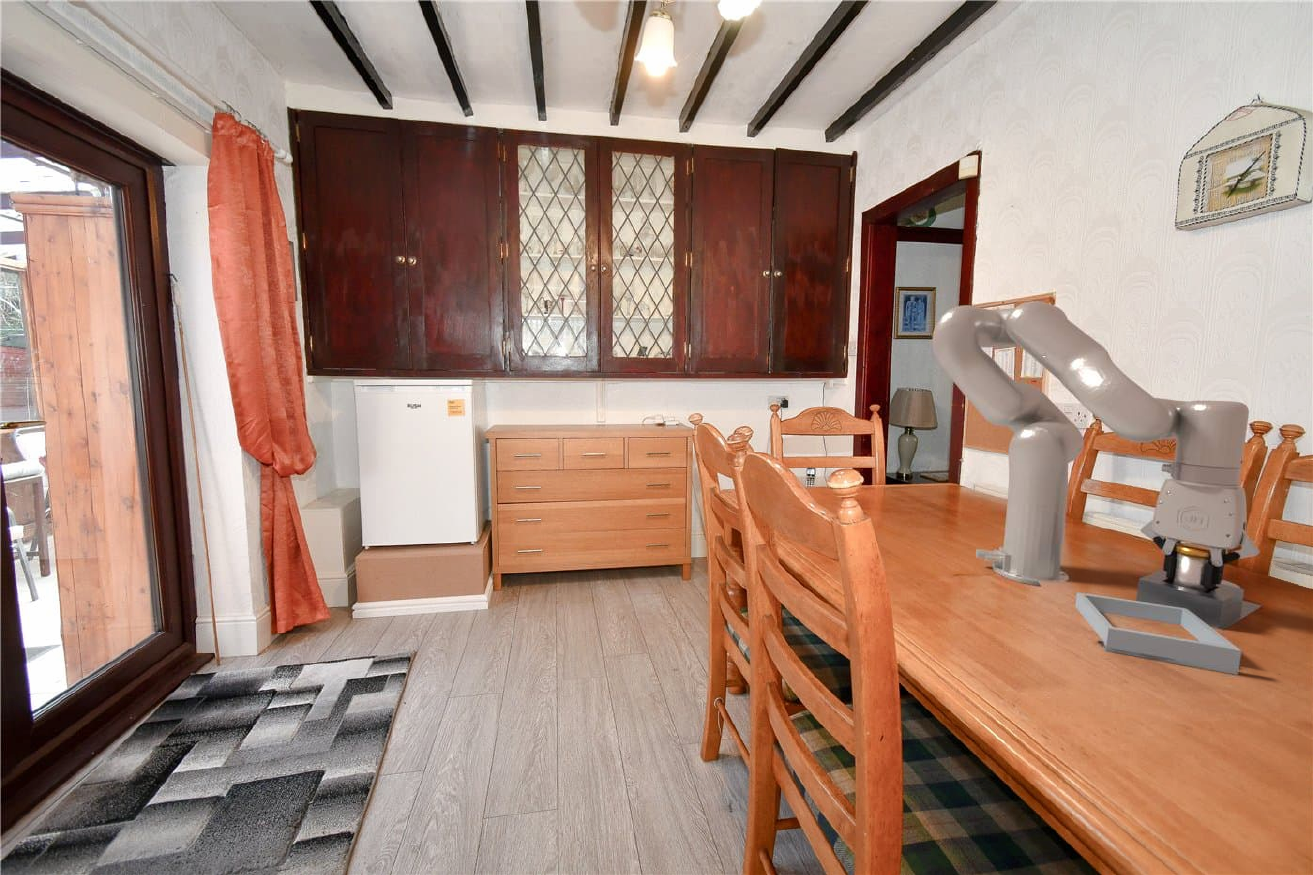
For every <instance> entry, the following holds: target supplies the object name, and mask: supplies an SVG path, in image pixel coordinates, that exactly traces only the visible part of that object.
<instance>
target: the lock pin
mask: <svg viewBox="0 0 1313 875" xmlns="http://www.w3.org/2000/svg"><path fill="white" fill-rule="evenodd" d="M1175 551H1176V552H1177V558H1176V565H1175V573H1174V580H1173V584H1174V585H1178V586H1181V587H1185V588H1189V589H1193V590H1196V591H1200V592H1204V593H1207V589H1208V588H1205V587H1204V580H1205V573H1206V566H1207V565H1208V564H1210V561H1211V552H1210V547H1206V546H1201V545H1196V544H1191V543H1187V542H1181V543H1176V546H1175Z"/></svg>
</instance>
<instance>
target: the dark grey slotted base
mask: <svg viewBox="0 0 1313 875" xmlns="http://www.w3.org/2000/svg"><path fill="white" fill-rule="evenodd" d="M1166 573H1167V572H1166V571H1163V568H1162V569H1160V570H1158V571H1155V572H1152V573H1150V574H1148V575H1146V576H1142V577H1140V578H1139V579H1138V583H1137V591H1136V599H1135V601H1139V602H1146V603H1152V604H1159V605H1166V606H1173V607H1179V608H1186V609H1188V610H1189V611H1190V612H1192V613H1193V614H1194V615H1196V616H1197V617H1198V618H1200V619H1201V620H1202V621H1203V622H1205V623H1206V624H1207V625H1209V626H1210V627H1211V628H1213V629H1217V630H1220V631H1224V630H1226V629H1228V628H1229V627H1231V626H1233V625H1235V624H1236V623H1237V622H1239V621H1240V620H1242V619H1244V618H1245V617H1247V616H1249V615H1250V614H1251V613H1253V612H1255V611H1256V610H1258V609H1260V608H1262V605H1261V604H1257V603H1253V602H1249V601H1246V600H1243V599H1244V592H1245V589H1243V588H1241V587H1240V586H1239V585H1237V584H1236V583H1233V582H1230V581H1228V580H1224V579H1222V582H1221V584H1219V585H1218V584H1216V586H1215V587H1213V588H1211V589H1207V593H1204V592H1200V591H1196V590H1193V589H1189V588H1185V587H1181V586H1178V585H1174V584H1173V580H1174V578H1171V579H1169V578H1166Z"/></svg>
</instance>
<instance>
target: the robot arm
mask: <svg viewBox="0 0 1313 875" xmlns="http://www.w3.org/2000/svg"><path fill="white" fill-rule="evenodd" d="M932 334H933V335H932V341H931V343H932V350H933V355H934V357H935V359H936V362H937V363H938V364H939V367H940V368H941V369H942V370H943V372H944V373H945V374H946V375H947V377H948V378H950V380H951V381H952V382H953V383H954V384H955V385H956V386H957V388H958V389H959V390H960V391H961V393H962V394H963V396H965V398H966V399H967V400H969V402H970V403H971V404H972V405H973V406H974V408H975V409H976V410H977V411H978V413H980V415H981V416H982V417H983V418H984V419H985V421H987V422H988V423H989V424H991V425H994V426H997V427H998V426H999V427H1008V429H1010V431H1011V432H1012V434H1013V435H1012V438H1011V440H1010V442H1009V446H1008V466H1009V467H1008V471H1009V472H1008V492H1007V503H1006V504H1007V506H1006V515H1005V526H1004V527H1005V528H1004V537H1003V538H1004V539H1003V546H999V549H994V550H987V549H983V548H976V549H975V550H976V551H975V557H976V559H982V560H983V559H984V562H989V563H992V570H993V571H994V572H995V573H996V574H998V575H999V574H1000V575H999V576H1001V575H1002V576H1001V577H1003V576H1004V578H1006V579H1009V580H1011V581H1015V582H1018V583H1021V584H1026V585H1031V586H1036V587H1037V586H1038V587H1042V585H1041V584H1040V582H1043V583H1063V582H1067V581H1068V580H1069V579H1070V577H1069V575H1068V574H1067V573H1066V572H1063V571H1062V570H1061V564H1062V555H1063V542H1064V534H1065V526H1066V525H1065V523H1066V516H1067V508H1068V507H1067V504H1068V493H1069V464H1070V463H1071V462H1073V461H1075V460H1076V459H1077V458H1079V457H1080V455H1081V454H1082V452H1083V449H1084V446H1085V441H1084V436H1083V435H1082V432H1081V430H1080V429H1079V428H1078V427H1077V426H1076V424H1074V423H1073V421H1071V420H1070V418H1069V417H1067V415H1066V414H1065V413H1064V412H1063V411H1062V410H1061V409H1060V408H1059V407H1058V406H1057V405H1056V404H1055V403H1054V402H1053V401H1052V400H1051V399H1050V398H1049V397H1048V396H1047V395H1046V394H1045V393H1044V392H1043V391H1042V390H1040V389H1039V388H1038V387H1037V386H1035V385H1033V384H1031V383H1028V382H1025V381H1017V380H1015V379H1013V377H1011V376H1010V375H1009V374H1008V373H1007V372H1006V371H1005V370H1003V368H1002V367H1001V366H1000V365H999V364H998V363H997V361H995V360H994V358H992V357H991V356H990V355H989V354H988V353H987V352H985V351H984V350H983V348H1022V350H1024V352H1026V353H1027V354H1028V355H1030V357H1032V358H1033V359H1034V360H1035V361H1036V362H1038V363H1039V364H1040V365H1041V366H1042V367H1043V368H1045V369H1046V370H1047V371H1048V372H1049V373H1051V375H1053V376H1054V377H1055V378H1056V379H1057V380H1058V381H1059V382H1060V383H1061V384H1062V386H1063V387H1064V388H1065V389H1067V391H1069V393H1071V394H1072V395H1073V396H1074V398H1075V399H1076V400H1077V401H1078V402H1079V403H1080V404H1082V406H1083V407H1084V408H1085V409H1086V410H1088V412H1090V413H1091V414H1092V415H1093V416H1094V417H1096V418H1097V419H1098V420H1099V421H1100V422H1101V423H1103V424H1104V425H1105V426H1106V427H1107V428H1108V429H1110V430H1111V431H1112V432H1113V433H1115V434H1116V435H1117V436H1119V437H1120V438H1122V439H1124V440H1126V441H1129V442H1132V443H1133V442H1134V443H1138V444H1140V443H1150V442H1151V443H1152V442H1155V441H1159V440H1176V442H1175V443H1176V445H1175V454H1174V459H1173V460H1174V461H1172V463H1168V464H1167V463H1163V464H1161V465H1162V466H1161V471H1162V472H1165V473H1167V474H1170V478H1167V479H1164V481H1163V483H1162V486H1161V487H1160V491H1159V495H1158V497H1157V501H1156V504H1155V510H1154V512H1153V517H1152V519H1151V520H1150V521H1149V522H1148V523H1147V524H1145V525H1144V526H1143V527H1142V528H1141V529H1140V532H1141V533H1142V534H1143V535H1145V536H1146V537H1147V538H1148V539H1150V540H1152V542H1153V543H1154V544H1155V545H1156V546H1157V547H1158V548H1159V549H1160V550H1161V553H1162V554H1164V559H1163V560H1164V561H1163V566H1162V569H1163V571H1166V572H1167V573H1166V578H1169V579H1171V578H1174V573H1175V565H1176V558H1177V552H1176V551H1175V546H1176V543H1191V544H1196V545H1201V546H1206V547H1210V552H1211V561H1210V564H1208V565H1207V566H1206V573H1205V580H1204V587H1205V588H1208V589H1211V588H1213V587H1215V586H1216V584H1218V585H1219V584H1221V582H1222V580H1223V575H1224V567H1225V565H1226V564H1229V563H1232V562H1234V561H1237V560H1241V559H1246V558H1251V557H1255V556H1258V555H1260V553H1261V551H1260V550H1259V549H1260V548H1258V547H1257V545H1256V544H1255V542H1253V540H1252V538H1251V537H1250V535H1249V534H1248V533H1247V522H1248V520H1247V515H1248V514H1247V496H1246V491H1245V488H1244V487H1242V486H1240V478H1241V472H1242V465H1243V464H1242V463H1243V456H1244V453H1245V452H1244V451H1245V444H1246V436H1247V430H1248V422H1249V416H1250V415H1249V414H1250V410H1249V409H1250V408H1249V407H1248V405H1246V404H1245V403H1242V402H1240V401H1239V402H1238V401H1230V400H1229V401H1228V400H1227V401H1226V400H1190V401H1185V400H1184V401H1183V400H1175V399H1174V400H1173V399H1168V398H1159V397H1154V396H1153V395H1151V394H1150V393H1149V392H1147V391H1146V390H1144V389H1143V388H1142V387H1141V386H1140V385H1138V384H1137V383H1136V382H1134V380H1133V379H1131V378H1129V376H1127V374H1125V373H1124V372H1123V371H1122V370H1121V369H1120V368H1119V367H1118V366H1117V365H1116V364H1115V363H1114V362H1113V360H1112V358H1111V356H1110V354H1109V352H1108V350H1107V349H1106V348H1105V347H1104V346H1103V345H1102V344H1101V343H1099V342H1098V341H1096V340H1095V339H1094V338H1093V337H1091V336H1090V335H1089V334H1087V333H1086V332H1085V331H1084V330H1082V329H1081V328H1080V327H1078V326H1077V325H1075V324H1074V323H1073V322H1072V321H1071V320H1069V318H1068V317H1067V315H1066V312H1064V311H1063V310H1062V309H1061V308H1060V307H1058V306H1056V305H1053V304H1050V303H1047V302H1044V301H1041V300H1031V301H1027V302H1023V303H1021V304H1019V305H1017V306H1015V308H1014V307H1013V308H997V309H995V308H992V309H988V308H983V307H979V306H974V305H967V304H966V305H958V306H954V307H953V308H951V309H948V310H947V311H946V312H944V314H942V316H941V317H939V319H938V321H937V323H936V324H935V327H934V329H933V333H932ZM1239 546H1240V547H1241V549H1238V550H1234V549H1235V548H1237V547H1239ZM1229 550H1233V551H1231V552H1228V551H1229Z"/></svg>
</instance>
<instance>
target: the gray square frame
mask: <svg viewBox="0 0 1313 875" xmlns="http://www.w3.org/2000/svg"><path fill="white" fill-rule="evenodd" d="M1074 607H1075V608H1076V609H1077V611H1078V612H1079V613H1080V614H1081V615H1082V617H1083V618H1084V619H1085V620H1086V621H1087V623H1088V625H1090V627H1091V628H1092V629H1093V630H1094V631H1095V632H1096V634H1097V635H1098V636H1099V637H1100V639H1101V640H1102V641H1101V640H1097V642H1098V643H1099V644H1100V646H1101V647H1102V648H1103V649H1104V651H1105V652H1111V653H1116V654H1120V655H1127V656H1132V657H1138V658H1143V659H1148V660H1154V661H1159V662H1166V663H1170V664H1175V665H1181V666H1186V667H1190V668H1191V667H1192V668H1198V669H1203V670H1209V671H1212V672H1213V671H1214V672H1220V673H1224V674H1230V675H1236V676H1238V675H1239V668H1240V663H1241V655H1242V650H1241V648H1239V647H1237V646H1236V644H1235V645H1234V644H1233V643H1232V642H1231V641H1230V640H1228V638H1226V637H1224V636H1223V635H1221V634H1220V632H1218V631H1217V630H1215V628H1213V627H1210V626H1209V625H1207V624H1206V623H1205V622H1203V621H1202V620H1201V619H1200V618H1198V617H1197V616H1196V615H1194V614H1193V613H1192V612H1190V611H1189V610H1188V609H1186V608H1179V607H1173V606H1166V605H1159V604H1152V603H1146V602H1139V601H1136V600H1131V599H1124V598H1117V597H1111V596H1110V597H1109V596H1104V595H1097V594H1091V593H1085V592H1078V591H1077V592H1076V597H1075V605H1074ZM1102 613H1104V614H1109V615H1116V616H1123V617H1128V618H1136V619H1142V620H1147V621H1154V622H1161V623H1166V624H1174V625H1180V626H1182V628H1184V630H1186V631H1187V632H1188V633H1190V635H1192V636H1193V637H1194V638H1196V639H1197V640H1193V639H1188V638H1187V639H1186V638H1181V637H1175V636H1169V635H1163V634H1157V633H1150V632H1144V631H1138V630H1132V629H1126V628H1122V627H1120V628H1119V627H1115V626H1113V625H1112V624H1111V623H1110V622H1109V621H1108V619H1107V618H1106V617H1105V616H1104V615H1103V614H1102Z"/></svg>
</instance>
